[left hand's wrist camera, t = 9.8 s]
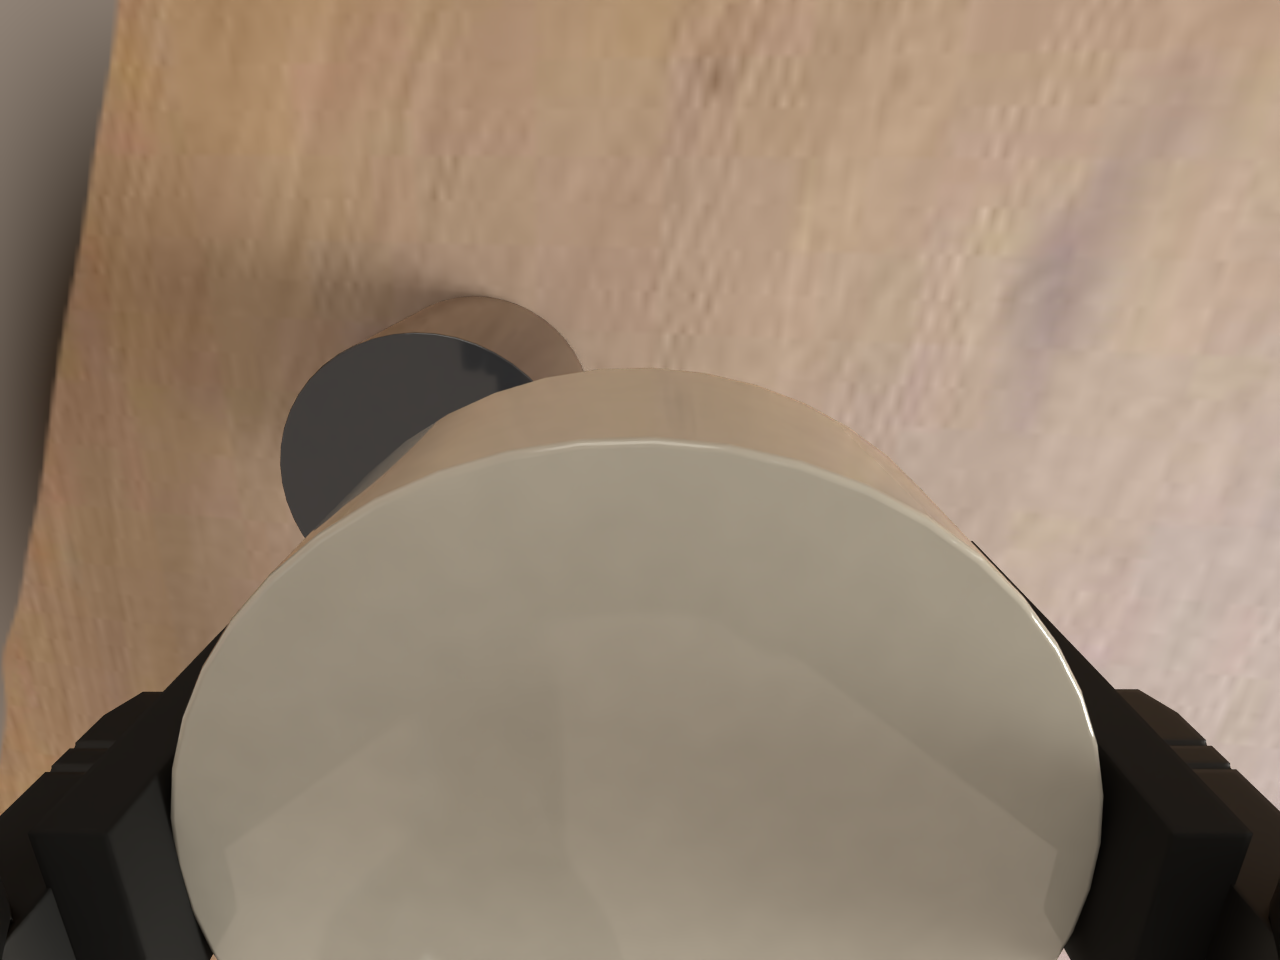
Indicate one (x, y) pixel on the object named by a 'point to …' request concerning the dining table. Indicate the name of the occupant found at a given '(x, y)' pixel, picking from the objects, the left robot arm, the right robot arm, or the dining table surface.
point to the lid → (636, 705)
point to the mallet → (407, 391)
